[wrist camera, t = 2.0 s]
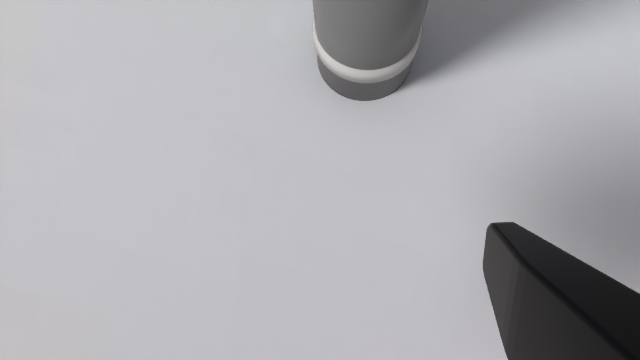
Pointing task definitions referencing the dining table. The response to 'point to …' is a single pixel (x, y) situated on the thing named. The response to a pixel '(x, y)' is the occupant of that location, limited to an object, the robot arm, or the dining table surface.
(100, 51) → the dining table surface
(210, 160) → the dining table surface
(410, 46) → the grey tall cylinder
